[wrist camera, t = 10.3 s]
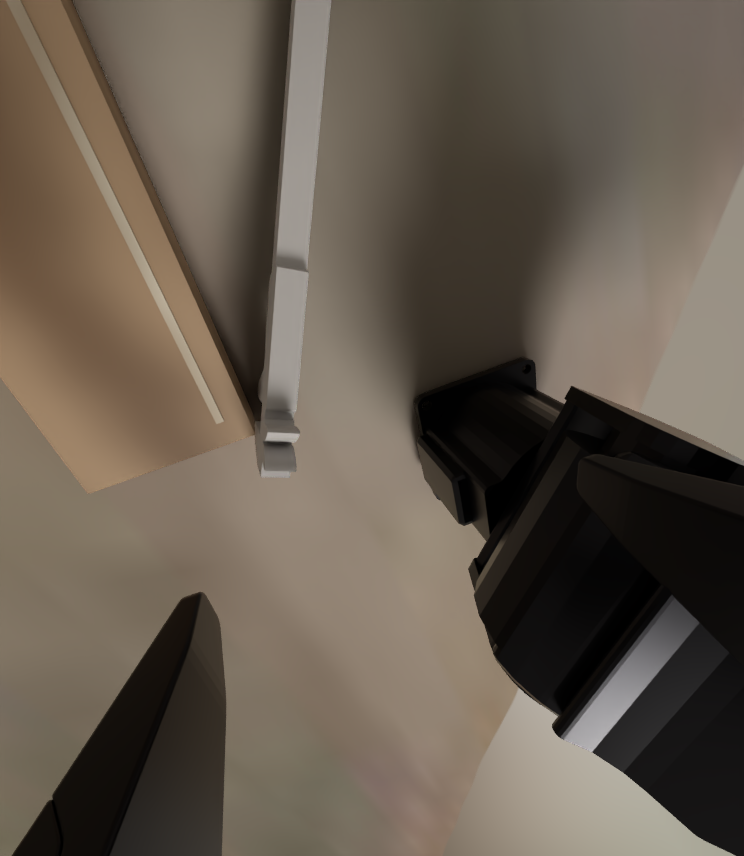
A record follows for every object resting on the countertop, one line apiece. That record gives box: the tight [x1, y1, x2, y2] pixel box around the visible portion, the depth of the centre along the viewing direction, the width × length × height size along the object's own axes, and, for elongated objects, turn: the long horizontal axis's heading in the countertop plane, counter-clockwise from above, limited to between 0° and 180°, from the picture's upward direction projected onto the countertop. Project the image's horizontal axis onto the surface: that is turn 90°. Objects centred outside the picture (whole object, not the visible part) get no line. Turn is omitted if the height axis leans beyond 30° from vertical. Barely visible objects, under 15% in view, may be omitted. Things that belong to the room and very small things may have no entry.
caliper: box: [255, 0, 331, 478], centre depth 12 cm, size 20×1×6 cm, turn 169°
